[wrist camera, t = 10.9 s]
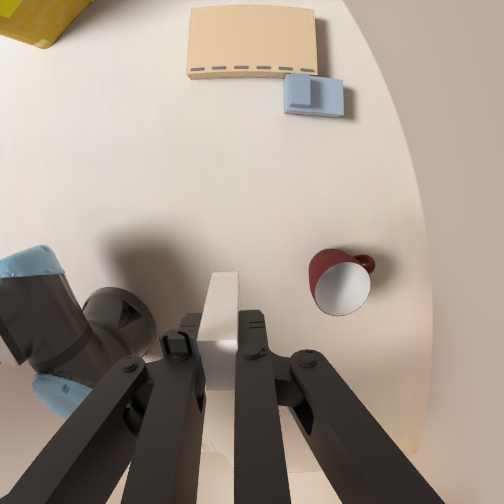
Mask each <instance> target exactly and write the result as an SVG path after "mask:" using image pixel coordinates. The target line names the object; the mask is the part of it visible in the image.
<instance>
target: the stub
mask: <svg viewBox="0 0 504 504" xmlns="http://www.w3.org/2000/svg"><path fill="white" fill-rule="evenodd" d="M284 113H287V114H303V115H316V116H326V117H335V118H338V117H340V116H343V115H344V99H343V80H339V79H332V78H324V77H316V76H310V74H305V73H293V72H291V74H286V76H285V79H284Z"/></svg>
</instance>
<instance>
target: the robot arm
mask: <svg viewBox="0 0 504 504" xmlns="http://www.w3.org/2000/svg"><path fill="white" fill-rule="evenodd" d="M64 273H65V272H64V270H62V268H61V266H60V264H59V262H58V260H57V258H56V256H55V254H54V252H53V250H52V249H51V248H50V247H48V246H46V245H39V246H36V247H32V248H30V249H27V250H24V251H21V252H19V253H16V254H13V255H11V256H8V257H6V258H3V259H1V260H0V366H1V365H2V364H9V365H13V366H16V367H18V366H20V365H21V364H22V363H24V362H25V361H26V360H28V362H29V363H30V364H31V366H32V368H33V369H34V370H35V372H36V374H37V375H35V376H34V377H33V382H32V386H33V390H34V392H35V394H36V395H37V397H38V398H39V399H40V400H41V401H42V402H43V403H44V404H45V405H46V406H47V407H48V408H49V409H51V410H52V411H53V412H55V413H56V414H58V415H60V416H61V417H63V418H65V419H67V420H66V422H65V423H64V424H63V425H62V427H61V428H60V429H59V430H58V432H57V433H56V434H55V435H54V436H53V437H52V439H51V440H50V441H49V442H48V444H47V445H46V446H45V447H44V448H43V450H42V451H41V452H40V453H39V455H38V456H37V457H36V459H35V460H34V461H33V462H32V464H31V465H30V466H29V467H28V469H27V470H26V471H25V473H24V474H23V475H22V476H21V478H20V479H19V480H18V482H17V483H16V484H15V486H14V487H13V488H12V490H11V491H10V492H9V494H7V495H6V496H4V497H2V498H1V499H0V504H106V502H107V500H108V499H109V497H110V495H111V494H112V492H113V490H114V489H115V487H116V485H117V484H118V482H119V480H120V478H121V477H122V475H123V473H124V472H125V470H126V468H127V467H128V465H129V463H130V462H131V464H130V468H129V472H128V476H127V480H126V484H125V488H124V492H123V496H122V500H121V504H196V500H197V488H198V476H199V465H200V454H201V444H202V434H203V424H204V415H205V406H206V395H205V391H204V390H205V383H206V387H207V390H231V389H235V421H234V504H291V498H290V490H289V483H288V476H287V468H286V461H285V453H284V446H283V439H282V432H281V424H280V417H279V410H278V405H282V406H288V408H289V410H290V412H291V414H292V416H293V418H294V420H295V421H296V423H297V425H298V427H299V429H300V431H301V432H302V434H303V436H304V438H305V440H306V442H307V443H308V445H309V447H310V449H311V450H312V452H313V454H314V456H315V458H316V459H317V461H318V463H319V465H320V466H321V468H322V470H323V472H324V473H325V475H326V477H327V478H328V480H329V482H330V484H331V485H332V487H333V489H334V490H335V492H336V494H337V495H338V497H339V498H340V500H341V502H342V504H445V503H444V501H443V500H442V499H441V498H440V497H439V496H438V494H437V493H436V492H435V491H434V490H433V488H432V487H431V486H430V485H429V484H428V483H427V481H426V480H425V479H424V478H423V476H422V475H421V474H420V473H419V472H418V470H416V468H415V467H414V466H413V464H412V463H411V462H410V461H409V460H408V458H407V457H406V456H405V455H404V454H403V452H402V451H401V450H400V449H399V448H398V446H397V445H396V444H395V443H394V441H393V440H392V439H391V438H390V437H389V435H388V434H387V433H386V432H385V431H384V429H383V428H382V427H381V426H380V424H379V423H378V422H377V421H376V420H375V418H374V417H373V416H372V415H371V413H370V412H369V411H368V410H367V408H366V407H365V406H364V405H363V404H362V402H361V401H360V400H359V399H358V397H357V396H356V395H355V394H354V393H353V391H352V390H351V389H350V388H349V386H348V385H347V384H346V383H345V381H344V380H343V379H342V378H341V376H340V375H339V374H338V373H337V371H336V370H335V369H334V368H333V367H332V365H331V364H330V363H329V362H328V360H327V359H326V358H325V357H324V355H322V354H321V353H320V352H318V351H315V350H308V349H306V350H300V351H298V352H295V353H294V354H293V355H292V356H291V358H288V357H282V356H278V355H276V354H274V353H273V352H271V350H270V349H269V347H268V340H267V333H266V326H265V319H264V314H263V313H262V312H261V311H260V310H246V311H241V301H240V289H239V276H238V271H229V272H212V276H211V280H210V284H209V288H208V293H207V297H206V301H205V306H204V310H203V313H194V314H187V315H186V316H185V317H184V318H183V319H182V321H181V324H180V327H179V329H177V330H171V331H168V332H166V333H164V334H163V335H162V336H161V337H160V338H159V340H160V344H161V347H162V351H163V354H164V356H163V359H161V360H159V361H155V362H150V363H145V361H144V360H143V359H142V358H141V357H143V356H144V355H145V354H146V353H147V352H148V351H149V350H150V348H151V346H152V344H153V342H154V339H155V335H156V328H155V323H154V320H153V318H152V316H151V314H150V312H149V311H148V309H147V308H146V307H145V305H144V304H143V303H142V302H141V301H140V300H139V299H137V298H136V297H135V296H133V295H132V294H130V293H128V292H126V291H124V290H121V289H118V288H112V287H107V288H101V289H99V290H97V291H95V292H94V293H93V294H92V295H91V296H90V297H89V298H88V299H87V300H86V302H85V303H84V305H83V308H82V309H81V307H80V306H79V304H78V302H77V300H76V298H75V296H74V294H73V292H72V290H71V288H70V286H69V283H68V281H67V279H66V277H65V274H64ZM131 460H132V461H131Z"/></svg>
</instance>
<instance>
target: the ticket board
mask: <svg viewBox="0 0 504 504" xmlns="http://www.w3.org/2000/svg"><path fill="white" fill-rule="evenodd" d="M291 72H293V73H305V74H310V76H317V75H318V73H317V49H316V32H315V19H314V10H313V9H305V8H296V7H285V6H267V5H228V6H211V7H199V8H191V15H190V26H189V38H188V53H187V72H186V74H187V76H188V77H189V78H190V79H191V80H192V79H205V78H226V77H268V78H285V76H286V74H291Z"/></svg>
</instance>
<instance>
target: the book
mask: <svg viewBox="0 0 504 504" xmlns="http://www.w3.org/2000/svg"><path fill="white" fill-rule="evenodd" d="M93 1H94V0H0V35H3V36H6V37H9V38H12V39H15V40H18V41H21V42H24V43H27V44H30V45H33V46H35V47H38V48H41V49H46V48H49V47H50V46H51V45H52V44H54V42H55V41H56V40H57V39H58V37H59V36H60V35H61V34H62V33H63V31H64V30H65V29H66V28H67V27H68V26H69V25H70V23H71V22H72V21H73V20H74V19H75V18H76V17H77V16H78V15H79V14H80V13H81V12H82V11H83V10H84V9H85V8H86V7H87V6H88V5H89V4H90V3H91V2H93Z"/></svg>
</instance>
